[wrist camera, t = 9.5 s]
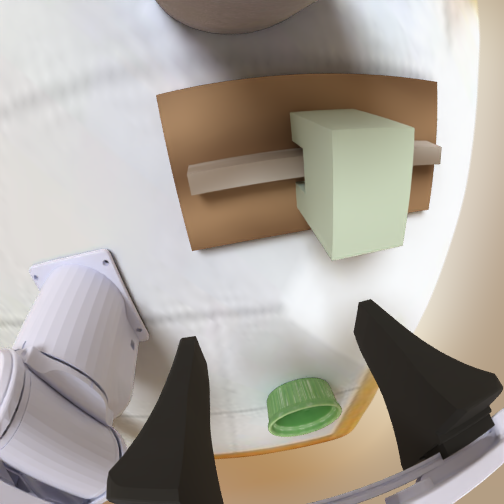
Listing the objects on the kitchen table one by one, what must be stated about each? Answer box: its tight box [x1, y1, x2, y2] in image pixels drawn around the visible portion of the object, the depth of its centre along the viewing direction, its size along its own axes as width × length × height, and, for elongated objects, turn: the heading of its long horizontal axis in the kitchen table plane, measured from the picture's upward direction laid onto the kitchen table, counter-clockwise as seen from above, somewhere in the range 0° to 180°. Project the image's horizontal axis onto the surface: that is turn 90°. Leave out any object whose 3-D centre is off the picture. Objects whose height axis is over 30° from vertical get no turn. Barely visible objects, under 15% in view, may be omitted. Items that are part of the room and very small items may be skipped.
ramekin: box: [267, 378, 342, 437], centre depth 32 cm, size 9×9×4 cm
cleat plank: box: [156, 73, 442, 251], centre depth 16 cm, size 10×18×3 cm, turn 97°
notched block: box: [290, 109, 415, 261], centre depth 14 cm, size 6×4×6 cm, turn 7°
